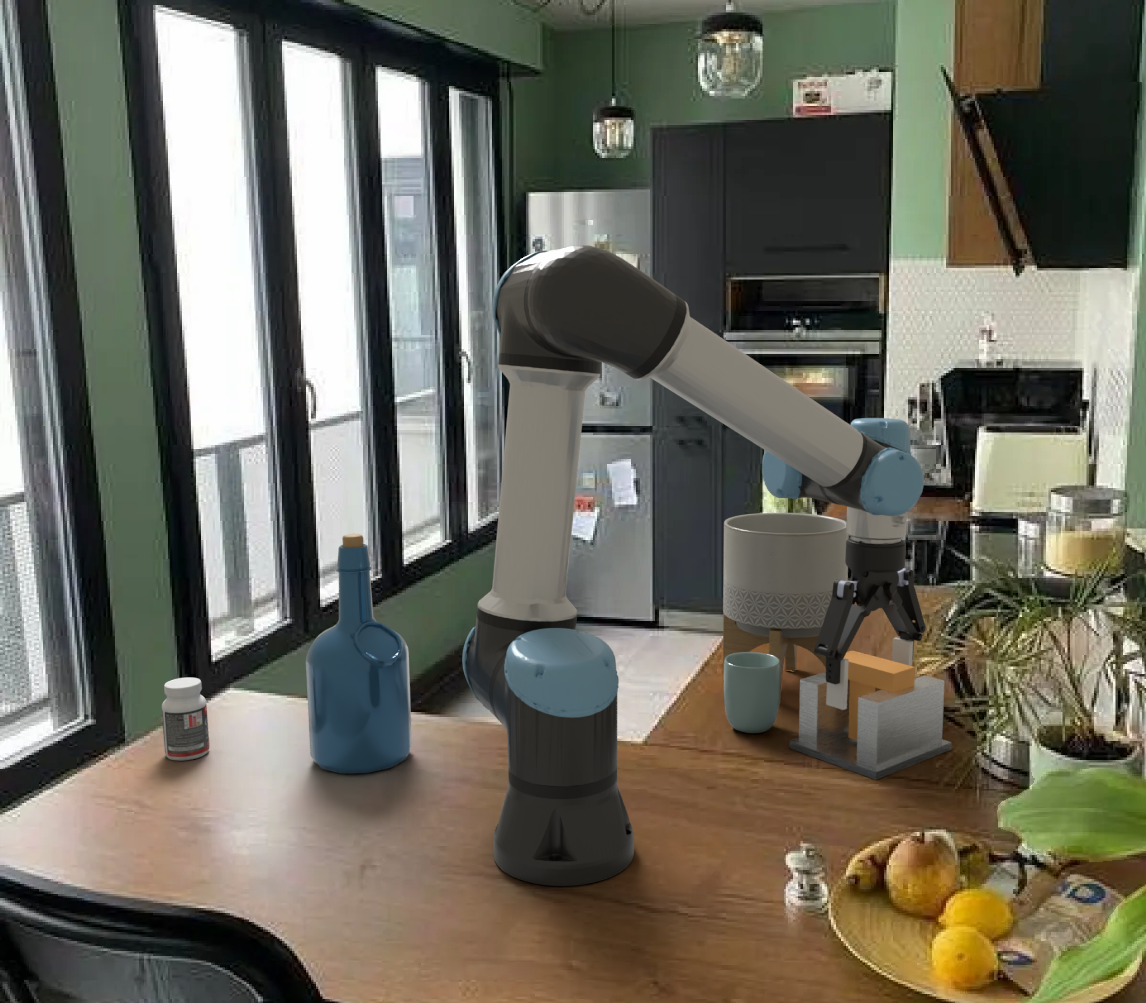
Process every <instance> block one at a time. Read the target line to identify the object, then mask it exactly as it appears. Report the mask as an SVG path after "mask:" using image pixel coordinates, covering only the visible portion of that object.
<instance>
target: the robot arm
mask: <svg viewBox="0 0 1146 1003" xmlns="http://www.w3.org/2000/svg"><path fill="white" fill-rule="evenodd" d="M491 308H492V311H491V312H492V318H493V322H494V325H495V328H496V330H497V332H498V334H499V336H500V340H499V352H498V353H499V355H498V364H497V365H498V366H497V367H498V369H499V370H500V371H501V373H502V374H503V375H504V376H505V377H506V379H507V380H508V383H509V393H508V406H507V415H506V416H507V417H506V427H505V439H504V450H503V451H504V452H503V462H502V475H501V485H500V494H499V496H500V498H499V508H498V519H497V527H496V528H497V531H496V540H495V553H494V554H495V555H494V562H493V576H492V585H491V586H492V588H491V590H490V591H489V592H488V593H486V594H485V595H484V596H483V597H482V598H480V599H479V600H478V602H477V608H476V610H477V611H476V618H475V624H474V626H473V627H472V629H471V630H470V631H469V633H468V635H467V637H466V639H465V642H464V646H463V649H462V661H461V662H462V669H463V673H464V676H465V679H466V682H467V684H468V687H469V688H470V690H471V692H472V695H474V697H475V698H476V699H477V700H478V701H479V702H480V703H481V704H482V706H483V707H484V708H485V709H486V710H488V711H489V712H490V713H491V714H492V715H493V716H494V717H495V718H496V719H497V720H498V721H499V722H500V723H501V725H502V726H503V727H504V728H505V729H506V733H507V734H506V735H507V768H508V769H507V770H508V771H507V772H508V773H507V774H508V783H507V784H508V786H507V789H506V793H505V796H504V800H503V804H502V807H501V811H500V815H499V818H498V822H497V825H496V826H495V830H494V832H493V838H492V839H493V840H492V841H493V842H492V844H493V845H492V846H493V860H494V861H495V864H496V865H497V866H498V867H499V868H500V870H502V871H503V872H504V873H506V874H507V875H509V876H511V877H513V878H516V879H518V880H521V881H523V882H527V883H530V884H531V883H532V884H535V885H543V886H552V887H553V886H554V887H559V886H560V887H567V886H568V887H569V886H580V885H581V886H582V885H587V884H592V883H593V884H594V883H597V882H601V881H604V880H607V879H609V878H612V877H614V876H616V875H617V874H619V873H621V872H623V871H624V870H625V869H626V868H628V867H629V865H630V864H631V863H632V861H633V859H634V856H635V834H634V829H633V826H632V824H631V821H630V817H629V814H628V812H627V809H626V805H625V803H624V799H623V797H622V793H621V791H620V788H619V785H618V691H619V690H618V689H619V680H620V679H619V675H618V669H617V663H616V662H617V661H616V656H615V653H614V651H613V650H612V647H611V646H610V645H609V644H608V643H607V642H606V641H604V640H603V639H602V638H600V637H598V636H597V635H594V634H592V633H589V632H579V630H577V629H576V628H577V618H578V610H577V608H576V607H575V606H574V605H573V603H572V602H571V601H570V600H569V598H568V597H567V587H568V586H567V584H568V576H569V564H570V563H569V562H570V555H571V554H570V553H571V542H572V531H573V523H574V513H575V501H576V491H577V480H578V470H579V469H578V468H579V459H580V449H581V448H580V447H581V440H582V439H581V438H582V428H583V418H584V417H583V416H584V408H585V407H584V406H585V398H586V397H585V396H586V391H587V389H588V388H589V387H590V386H591V385H592V384H594V382H596V381H597V380H598V379H600V377H601V371H602V370H601V369H602V363H603V364H605V365H607V366H610V367H613V368H615V369H617V370H619V371H621V372H623V373H624V374H625V375H627V376H628V377H631V379H634V380H635V381H643V380H645V379H649V378H650V379H652V380H653V381H655V382H656V383H658V384H659V385H661V386H663V387H664V388H666V389H668V390H669V391H671V392H672V393H674V394H676V396H679V397H680V398H681V399H683V400H685V401H686V402H688V403H690V404H691V405H693V406H695V407H696V408H698V409H699V410H701V411H703V412H704V413H706V414H707V415H708V416H711V418H714V420H715V419H716V420H717V421H718V422H720V423H721V424H724V425H725V426H726V427H728V428H730V429H731V430H733V432H736V433H738V434H739V435H740V436H742V437H743V438H745V439H747V440H748V441H750V442H752V443H753V444H754V445H756V446H758V447H760V448H761V449H763V450H765V451H764V454H763V456H762V462H761V463H762V468H761V470H762V471H761V474H762V479H763V482H764V484H765V487H766V489H767V491H768V492H769V494H771V495H772V496H773V497H775V498H778V499H792V500H798V499H802V498H804V499H805V498H807V499H808V498H809V499H814V500H817V501H821V502H826V503H830V504H835V505H838V506H844V507H846V520H845V521H846V533H847V534H848V535H849V538H848V540H846V556H845V563H846V565H847V566H848V569H850V572H851V574H850V575H851V576H850V577H849V580H848V581H842V580H838V579H836V580H835V581H834V583H833V591H832V598H831V601H830V604H829V607H828V610H827V613H826V616H825V619H824V622H823V625H822V628H821V631H820V633H819V636H818V639H817V642H816V645H815V648H814V652H815V653H816V654H819V655H822V656H825V658H826V668H825V672H826V682H827V697H826V705H829V706H832V707H836V708H839V709H842V710H844V709H847V689H848V662H849V659H845V658H844V656H845V654H846V652H848V651H849V648H850V647H851V645H852V643H853V641H854V639H855V636H856V635H857V633H858V631H859V629H860V627H861V625H862V623H863V622H864V620H865V618H866V617H869V616H870V615H871V613H872V612H874V611H877V610H879V609H882V610H883V612H884V614H885V616H886V617H887V619H888V621H889V622H890V624H891V626H892V628H893V630H894V632H895V633H896V635H897V636H898V637H896V636H895V637H893V638H892V648H891V649H892V650H891V651H892V652H891V653H892V654H891V661H894V662H898V663H902V664H906V665H909V666H913V661H914V653H915V652H914V650H915V647H914V646H915V641H917V642H920V641H922V639H923V633H925V632H926V628H927V627H926V624H925V620H924V616H923V612H922V608H921V606H920V602H919V598H918V596H917V592H916V588H915V582H914V581H915V579H914V578H915V576H914V575H915V573H914V570H913V569H909V568H905V566H906V552H907V551H906V549H907V548H906V546H907V543H906V542H905V541H904V540H903V538H904V537H906V536H907V514H908V513H907V512H909V511H910V510H912V509H913V507H915V506H916V505H917V503H918V501H919V499H920V497H921V496H922V493H923V489H924V484H925V478H924V472H923V469H922V466H921V464H920V463H919V460H918V459H917V458H916V457H914V456H913V455H912V452H911V430H910V429H911V427H910V425H909V424H908V423H907V422H906V421H905V420H903V419H897V418H885V417H864V418H855V419H853V420H852V421H851V422H850V423H848V422H846V421H845V420H843V419H842V418H840V417H839V416H838V415H836V414H834V412H832V411H830V410H829V409H827V408H826V407H824V405H821V404H820V403H818V402H817V401H815V400H814V399H813V398H811V397H809V396H808V395H807V394H805V393H804V392H802V391H800V390H799V389H798V388H796V387H795V386H793V385H791V383H789V382H787V381H786V380H785V379H783V378H781V377H780V376H778V375H777V374H775V373H774V372H772V371H771V370H770V369H768V368H767V367H766V366H764V365H763V364H760V363H759V362H758V361H756V360H755V359H754V358H752V357H750V356H749V355H748V354H746V353H745V352H743V351H742V350H740V349H739V348H737V347H736V346H734V345H733V344H731V343H730V342H728V341H726V340H725V339H724V338H723V337H722V336H721V337H720V335H718V334H717V333H715V332H713V331H712V330H710V329H709V328H707V327H706V326H704V325H703V324H701V323H700V322H699V321H697V320H695V318H693V317H691V316H690V315H691V314H690V309H689V305H688V303H687V302H686V301H685V300H684V299H683V298H681V297H679V295H677V294H675V293H674V292H672V291H671V290H669V289H668V288H667V287H665V286H664V285H662V284H661V283H660V282H658V281H657V280H655V279H654V278H652V277H651V276H650V275H647V274H646V273H645V272H643V271H642V270H640V269H639V268H638V267H636V266H635V265H633V264H631V263H630V262H629V261H627V260H625V259H624V258H622V257H621V256H618V255H616V254H615V253H612V252H611V251H609V250H607V249H605V248H604V249H603V248H600V247H596V246H593V245H589V244H588V245H587V244H586V245H583V244H581V245H580V244H579V245H572V246H571V245H570V246H566V247H563V248H558V249H552V250H551V249H549V250H547V249H546V250H541V251H537V252H533V253H531V254H528V255H527V256H524V257H523V258H520V260H518V261H516V262H515V263H514V264H513V265H511V266H510V267H509V268H508V269H507V270H506V271H505V272H504V273H503V275H502V276H501V277H500V279H499V280H498V283H497V285H496V287H495V290H494V293H493V298H492V307H491ZM825 645H826V646H825ZM837 647H839V648H838V650H837Z"/></svg>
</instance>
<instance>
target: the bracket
mask: <svg viewBox="0 0 1146 1003" xmlns="http://www.w3.org/2000/svg"><path fill="white" fill-rule="evenodd" d="M849 696H850V680H848V689H847V709H844V710H842V709H839V708H836V707H832V706H829V705H826V697H827V682H826V671H823V672H821V673H817V674H814V675H810V676H807V677H804V678H800V680H799V715H798V716H799V718H798V719H799V720H798V724H799V725H798V738H794V739H791V740H789V746H788V747H789V749H790V750H794V751H797V752H799V753H802V754H804V755H807V756H810V757H813V758H815V759H818V760H820V761H824V762H826V763H828V764H830V765H833V766H836V767H840V768H842V769H845V770H848V771H850V772H852V773H853V772H854V773H856V774H858V775H861V776H863V777H864V776H865V777H867V778H870V779H872V780H875V781H878V780H880V779H882V778H884V777H887V776H889V775H892V774H895V773H896V772H899V771H901V770H904V769H907V768H909V767H911V766H914V765H917V764H919V763H921V762H924V761H926V760H929V759H931V758H933V757H936V756H938V755H941V754H944V753H945V752H948V751H951V750H952V742H951V741H949V740H946V739H943V730H944V729H943V728H944V726H943V724H944V702H945V701H944V700H945V698H944V697H945V679H944V680H943V679H940V678H936V677H933V676H929V675H922V676H919V677H915V683H914V686H912V687H909V688H906V689H903V690H900V691H897V692H894V693H892V692H889V691H885V690H879V691H876V692H873V693H870V694H867V695H864V696H861V697H858V732H857V740H855V739H852V738H849V737H848V734H849Z"/></svg>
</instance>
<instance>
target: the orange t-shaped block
mask: <svg viewBox="0 0 1146 1003" xmlns="http://www.w3.org/2000/svg"><path fill="white" fill-rule="evenodd" d="M844 658H845V659H849V662H848V680H850V696H849V734H848V737H849V738H852V739H855V740H857V732H858V697H861V696H864V695H867V694H870V693H873V692H876V691H879V690H885V691H889V692H892V693H894V692H897V691H900V690H903V689H906V688H909V687H912V686H914V683H915V678H916V677H915V676H916V675H915V674H916V666H913V665H912V666H909V665H906V664H902V663H898V662H894V661H892V660H890V659H886V658H882V657H879V656H875V655H872V654H867V653H863V652H860V651H855V650H854V649H853V650H850V651H849V650H848V651H847V652H846V654H845V656H844Z"/></svg>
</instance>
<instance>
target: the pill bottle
mask: <svg viewBox="0 0 1146 1003" xmlns="http://www.w3.org/2000/svg"><path fill="white" fill-rule="evenodd" d="M163 687H164V688H163V689H164V695H165V696H166V698H165V699H164V701H163V702H162V703H161V717H162V718H161V719H162V730H163V733H162V734H163V745H164V748H163V749H164V755H165V757H166V758H168V759H169V760H172V761H179V762H180V761H191V760H194V759H195V760H197V759H199V758H202V757H203V756H205V755H206V754H208V752H209V750H210V737H209V736H210V735H209V722H208V721H209V720H208V719H209V718H208V707H207V706H208V705H207V704H208V703H207V700H206V698H205V697H204V696H203V695H202V694H201V691H202V689H203V686H202V681H201V679H200V678H197V677H178V678H174V679H172V680H169V681H166V682H165V683H164V685H163Z"/></svg>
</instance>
